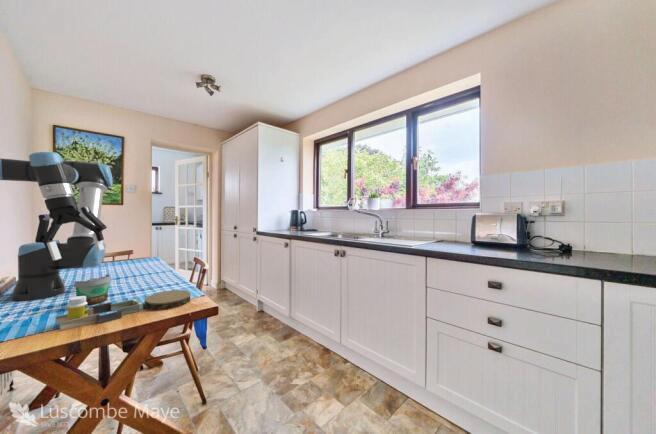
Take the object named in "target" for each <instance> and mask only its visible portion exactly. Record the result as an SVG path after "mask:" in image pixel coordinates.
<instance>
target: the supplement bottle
mask: <svg viewBox="0 0 656 434" xmlns="http://www.w3.org/2000/svg"><path fill="white" fill-rule="evenodd" d="M88 309H89V307H88V303H87V302H86V296H77V295H76V296H73V297H70V298H69V303H68V305H67V314H68V321H69V320H73V319H78V318H82V317H86V316H88Z"/></svg>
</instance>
